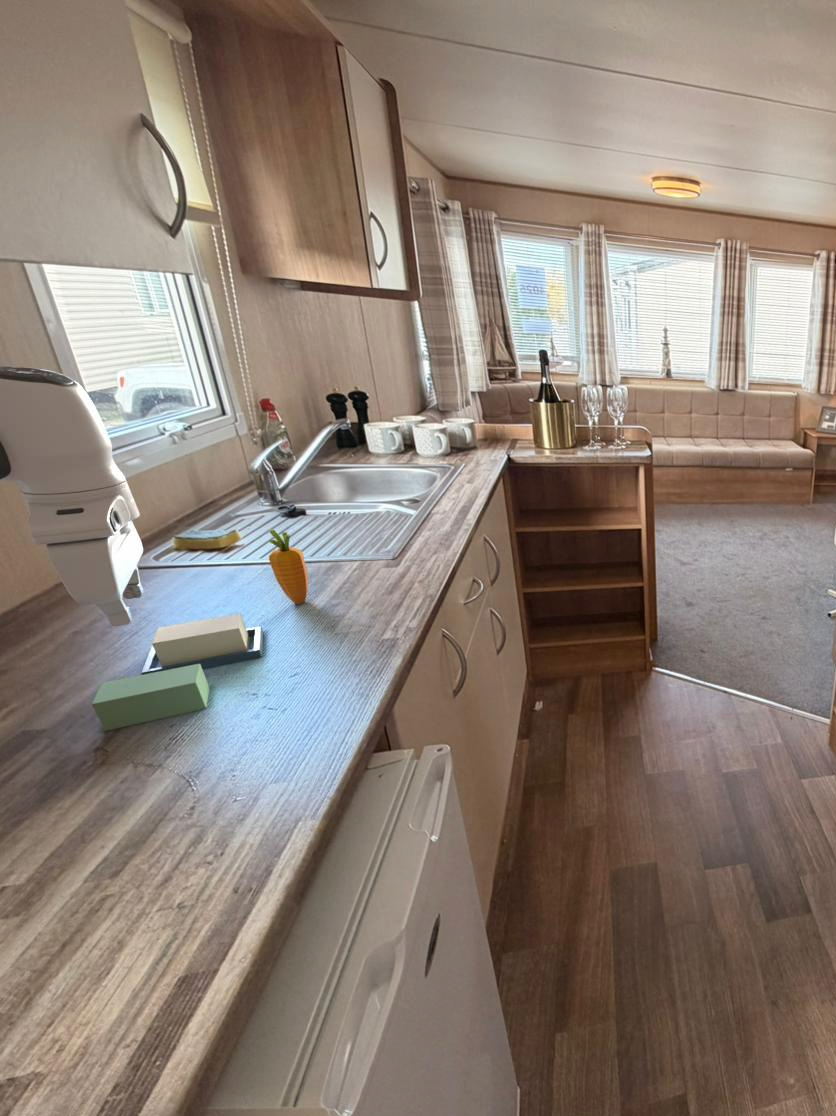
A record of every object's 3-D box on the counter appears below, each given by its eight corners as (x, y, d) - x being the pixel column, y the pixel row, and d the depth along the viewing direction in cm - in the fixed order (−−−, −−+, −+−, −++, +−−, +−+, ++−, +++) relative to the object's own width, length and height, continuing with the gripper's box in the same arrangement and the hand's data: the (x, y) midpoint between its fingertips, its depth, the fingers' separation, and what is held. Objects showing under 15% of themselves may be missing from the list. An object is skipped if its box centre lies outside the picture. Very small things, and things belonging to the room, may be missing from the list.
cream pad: (164, 672, 96) (151, 643, 94) (169, 655, 100) (157, 627, 98) (248, 655, 102) (239, 628, 100) (250, 640, 106) (241, 613, 104)
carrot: (320, 606, 120) (299, 531, 113) (288, 614, 116) (264, 536, 110) (313, 598, 123) (291, 524, 116) (281, 605, 119) (257, 529, 113)
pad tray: (146, 685, 94) (140, 672, 93) (155, 657, 101) (150, 645, 100) (263, 661, 101) (259, 649, 101) (264, 637, 108) (261, 626, 108)
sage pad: (107, 736, 83) (91, 704, 81) (116, 713, 88) (101, 682, 85) (208, 713, 89) (195, 682, 87) (211, 692, 93) (200, 663, 91)
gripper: (68, 490, 84) (110, 586, 89) (23, 535, 69) (77, 647, 75) (134, 485, 87) (171, 578, 93) (105, 527, 72) (151, 634, 78)
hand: (129, 609), depth 84 cm, fingers open, 8 cm apart
